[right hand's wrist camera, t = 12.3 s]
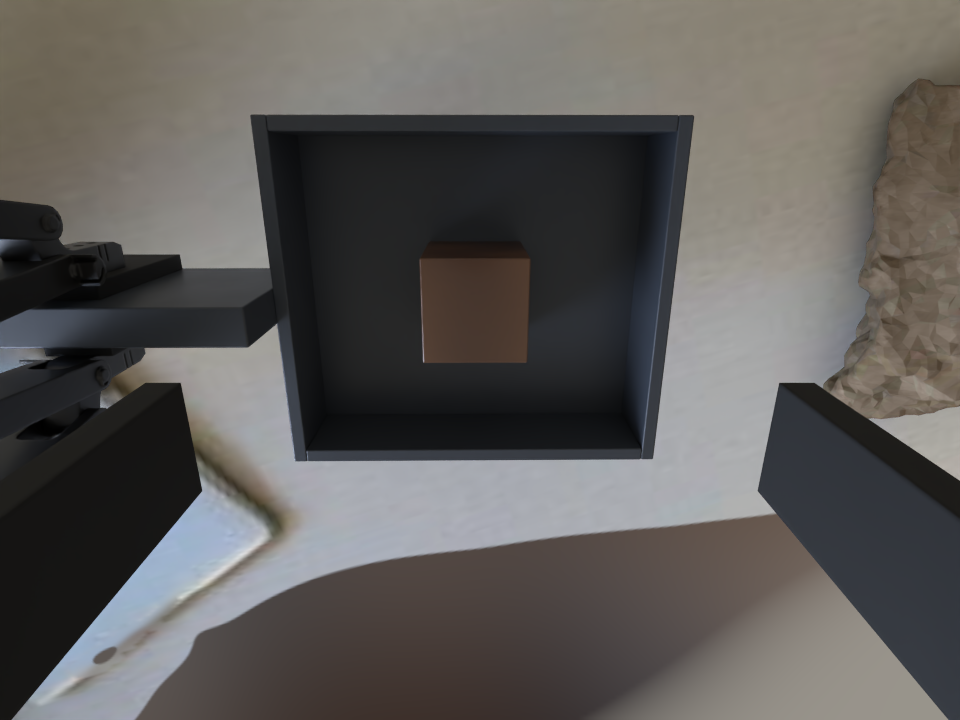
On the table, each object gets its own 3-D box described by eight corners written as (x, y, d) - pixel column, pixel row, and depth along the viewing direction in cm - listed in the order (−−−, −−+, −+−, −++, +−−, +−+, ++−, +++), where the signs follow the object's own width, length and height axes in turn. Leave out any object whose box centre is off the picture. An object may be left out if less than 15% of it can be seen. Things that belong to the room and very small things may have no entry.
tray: (656, 122, 26) (731, 107, 18) (627, 416, 31) (676, 497, 24) (72, 122, 26) (-94, 106, 18) (140, 418, 31) (33, 501, 23)
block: (521, 241, 27) (530, 258, 22) (518, 329, 29) (527, 363, 24) (428, 241, 27) (419, 258, 22) (431, 329, 28) (422, 363, 24)
